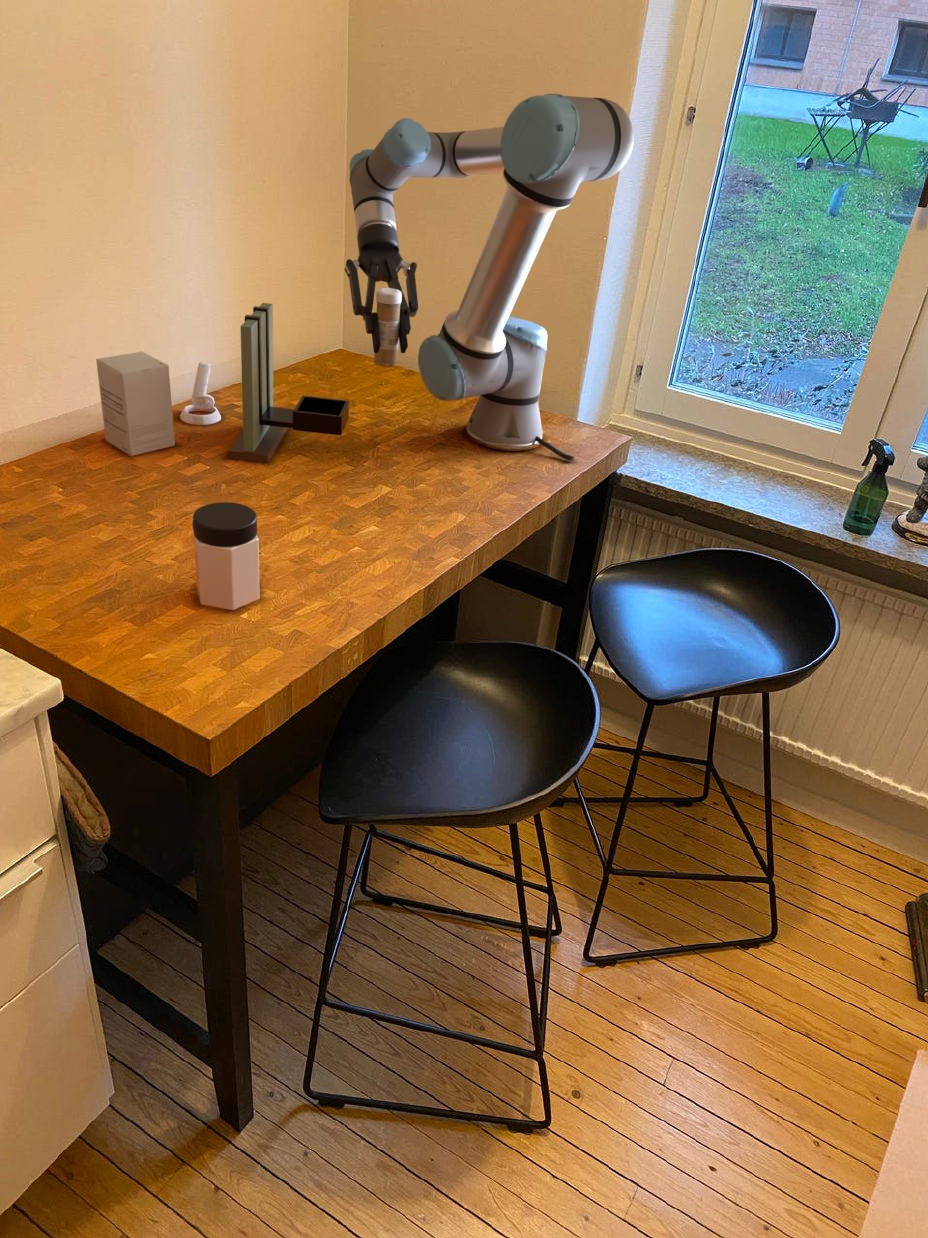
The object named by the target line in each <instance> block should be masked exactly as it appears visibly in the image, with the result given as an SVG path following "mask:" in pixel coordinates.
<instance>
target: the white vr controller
mask: <svg viewBox="0 0 928 1238" xmlns="http://www.w3.org/2000/svg"><path fill="white" fill-rule="evenodd" d="M211 369H212V368H211V364H210V363H207V362H203V361H202V362H199V363H198V366H197V370H196V373H195V374H196V375H195V380H194V385H193V390H192V393H191V399H190V403H191V404H188V405H186V406H184V407H183V408H182V410H181V413H180V416H179V419H180V420H181V421H182V422H184V423H186V424H190V425H196V426H206V425H213V424H216V423H218V422H220V421H221V420H222V415H221V413H220V411H219V410H218V408H217V407H216V406H215V398H214V396H213V395H210V394H208V393H207V389H208V382H209V378H210V374H211ZM193 412H206V413H207V414H193Z"/></svg>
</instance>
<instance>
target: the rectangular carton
mask: <svg viewBox="0 0 928 1238" xmlns="http://www.w3.org/2000/svg"><path fill="white" fill-rule="evenodd" d="M95 362H96V371H97V377H98V387H99V394H100V402H101V403H100V404H101V412H102V420H103V429H104V437H105V442H108V443H109V444H110V445H113V446H114V447H115V448H116V449H119V451H120V450H121V451H122V452H124V453H125V454H127V456H130V457H133V456H137V455H141V454H146V453H150V452H154V451H158V450H162V449H167V448H170V447H171V448H172V447H175V446H176V441H175V440H176V439H175V429H174V427H175V426H174V417H173V416H174V415H173V414H174V413H173V405H172V404H173V403H172V391H171V382H170V381H171V379H170V366H169V364H168V363H165V362H163V361H161V360H159V359H157V358H155V357H154V356H152V355H150V354H149V353H147V352H145V351H138V352H131V353H125V354H119V355H112V356H107V357H100V358H96V361H95Z"/></svg>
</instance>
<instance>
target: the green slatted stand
mask: <svg viewBox="0 0 928 1238" xmlns="http://www.w3.org/2000/svg"><path fill="white" fill-rule="evenodd" d="M258 307H266V308H269V366H270V407H275V406H274V404H275V403H274V401H275V400H274V304H273V303H267V302H262V303H261V304H260V305H259V306H258ZM251 315H252V316H261V356H262V415H263V413H264V412H265V410H266V409H267V373H266V311H257V310H256V311H255V312H254V313H253V312H252V313H251ZM240 351H241V352H240V357H241V359H240V361H241V392H242V393H241V394H242V395H241V396H242V398H241V399H242V401H241V402H242V431H241V432H240V433H239V435H238V437H236V439H235V441H234V442H233V443H232V445H231V447H229V449H228V451H227V452H228V459H229V460H230V459H231V460H239V461H247V462H248V461H249V462H257V463H266V464H268V463H269V462H270V460H271V458H272V457H273V455H274V453H275V452H276V450H277V448H278V446H279V444H280V443H281V441H282V440H283V438H284V436H285V434H286V433H287V431H288V429H289V428H286V427H277V426H268V425H259V373H258V320H250V319H247V320H246V321H245V320H244V322H243V323H242V324H241V325H240Z"/></svg>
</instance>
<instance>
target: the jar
mask: <svg viewBox="0 0 928 1238" xmlns="http://www.w3.org/2000/svg"><path fill="white" fill-rule="evenodd" d="M192 531H193V532H192V533H193V534H192V535H193V545H194V546H193V547H194V549H193V550H194V565H195V567H194V568H195V583H196V590H197V595H198V599H199V604H200V605H202V606H206V607H211V608H218V609H222V610H223V609H224V610H228V611H235V610H237V609H239V608H242V607H244V606H246V605H249V604H251V603H254V602H256V601H258V600H260V598H261V596H260V593H261V592H260V546H259V545H260V544H259V537H258V515H257V513H256V511H255V510H254V509H253V508H251V507H249V506H248V505H245V504H242V503H237V502H231V501H230V502H229V501H219V502H213V503H208V504H205V505H203V506H200V507H198V508H197V509H196V510H195V511H194V512H193V515H192Z"/></svg>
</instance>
